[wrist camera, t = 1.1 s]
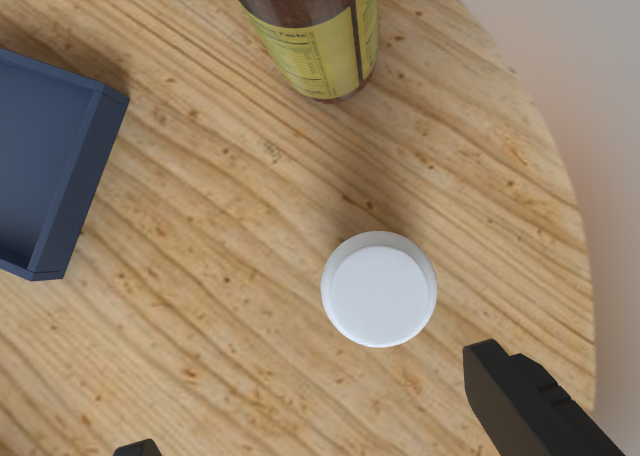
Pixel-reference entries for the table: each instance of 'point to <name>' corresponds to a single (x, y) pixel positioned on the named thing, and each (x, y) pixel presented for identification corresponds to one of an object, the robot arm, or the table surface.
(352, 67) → the sauce bottle
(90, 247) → the table surface
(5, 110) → the blue tray
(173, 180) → the table surface
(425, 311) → the pill bottle
